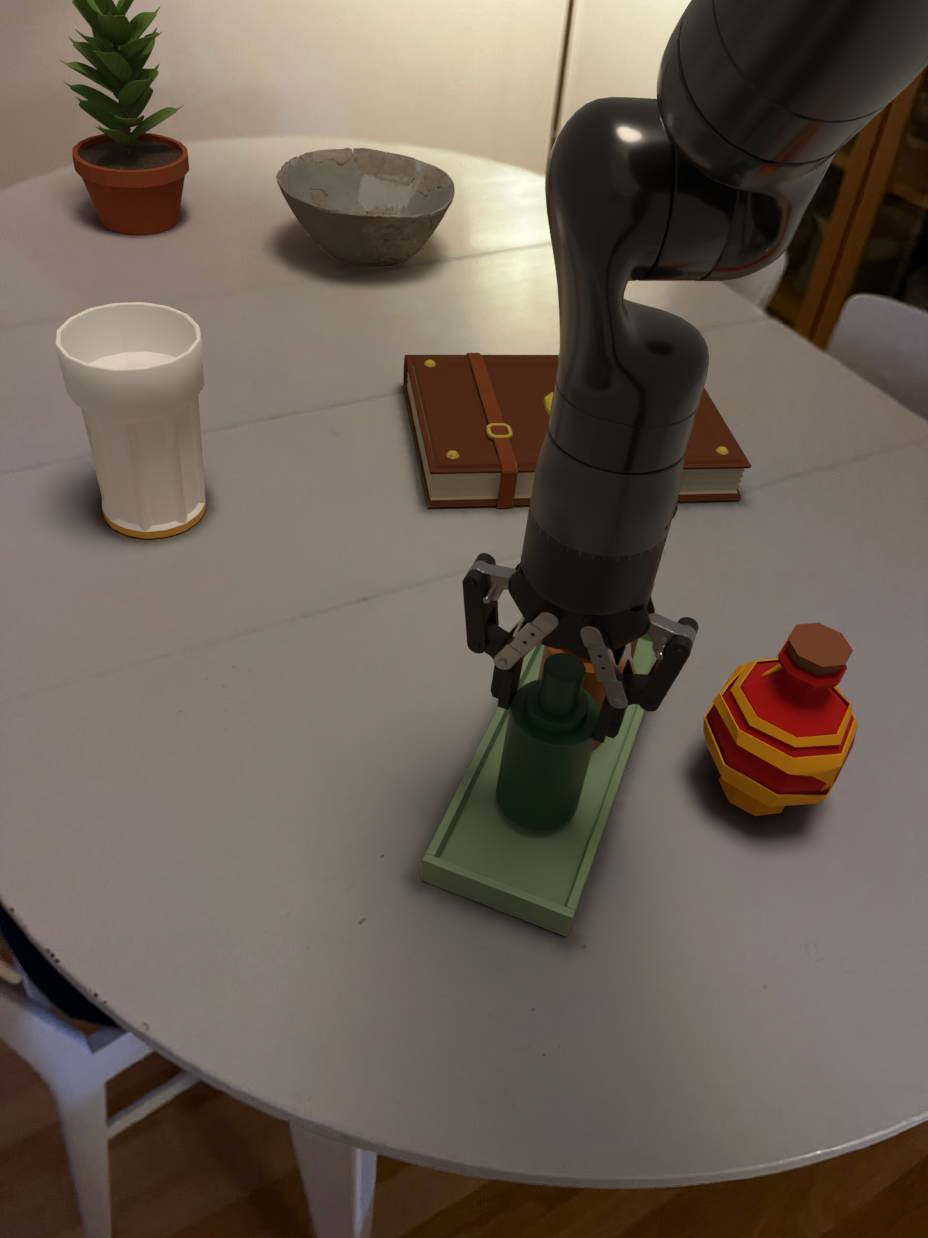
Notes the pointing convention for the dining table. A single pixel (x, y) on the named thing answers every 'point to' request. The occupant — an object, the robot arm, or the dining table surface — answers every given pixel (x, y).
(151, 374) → the cup
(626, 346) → the robot arm
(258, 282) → the dining table surface
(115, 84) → the potted plant
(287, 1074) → the dining table surface
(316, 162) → the ceramic bowl
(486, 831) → the tray
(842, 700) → the potion bottle
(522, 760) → the green bottle
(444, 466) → the book
